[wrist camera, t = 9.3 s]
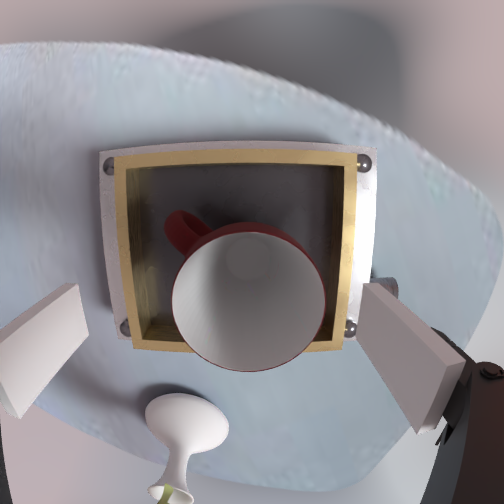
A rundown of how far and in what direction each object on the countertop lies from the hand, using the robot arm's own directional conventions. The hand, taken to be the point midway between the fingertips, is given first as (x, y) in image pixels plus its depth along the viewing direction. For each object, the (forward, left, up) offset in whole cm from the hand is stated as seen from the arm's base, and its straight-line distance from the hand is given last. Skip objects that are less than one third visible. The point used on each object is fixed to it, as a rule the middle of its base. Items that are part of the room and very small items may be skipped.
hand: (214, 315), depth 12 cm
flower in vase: (-7, -24, -18) cm, 30 cm away
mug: (0, 0, -12) cm, 12 cm away
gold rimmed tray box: (+2, 0, -17) cm, 18 cm away
